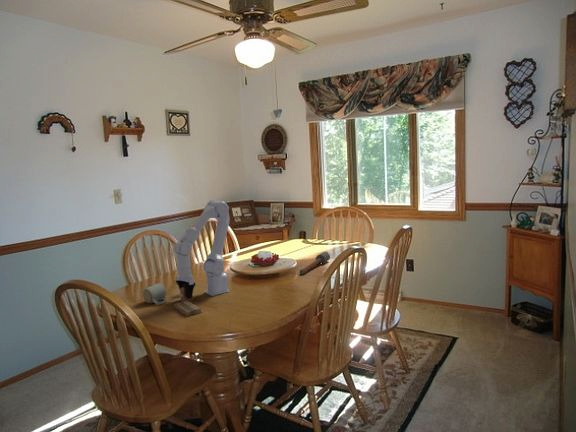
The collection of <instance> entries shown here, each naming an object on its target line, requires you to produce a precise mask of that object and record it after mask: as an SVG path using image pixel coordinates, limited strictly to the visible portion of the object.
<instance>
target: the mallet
mask: <svg viewBox="0 0 576 432" xmlns="http://www.w3.org/2000/svg"><path fill="white" fill-rule="evenodd" d="M330 259H331V255H330V253H329V252H328V251H323V252H321V253H320V254H318V255H316V257H315V260H314V261H313V262H311V263H309V265H307V266H305V267H304V268H302V269H300V270H299V275H301V274H304V275H305V274H306V273H307V272H308V271H310V270H312V269H313V268H314V267H316V266H317V265H320V264H319V263H324V264H325V263H326V262H328V261H329V260H330Z"/></svg>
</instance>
